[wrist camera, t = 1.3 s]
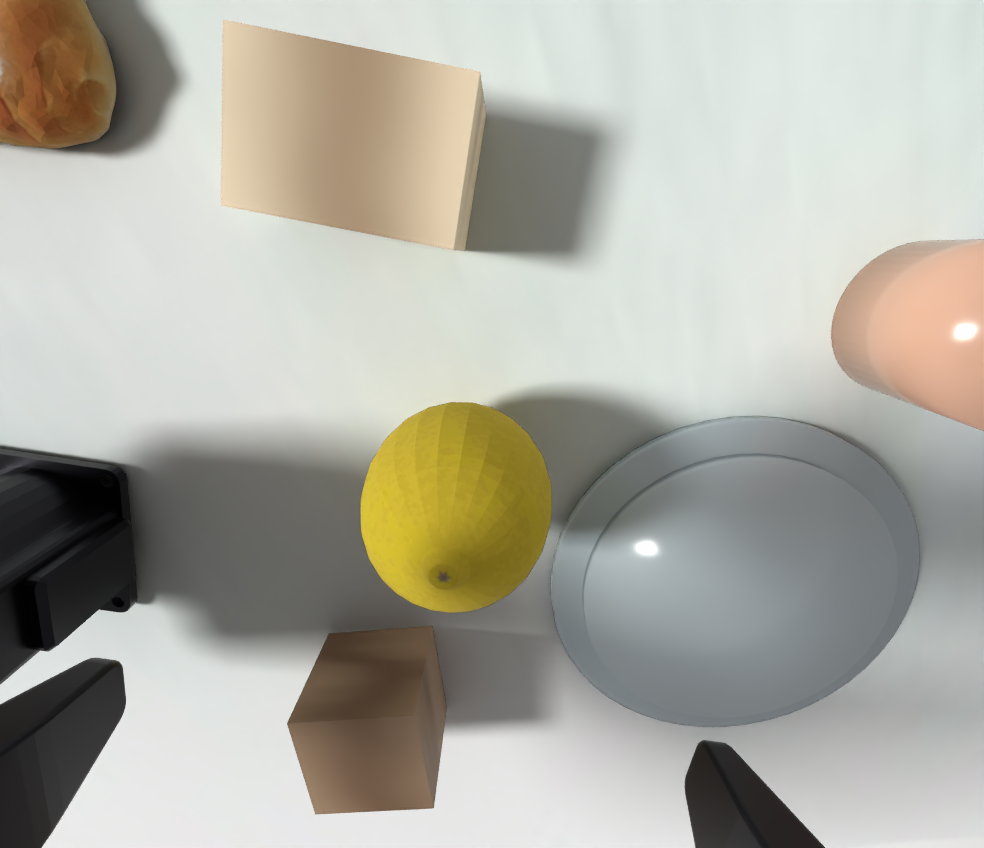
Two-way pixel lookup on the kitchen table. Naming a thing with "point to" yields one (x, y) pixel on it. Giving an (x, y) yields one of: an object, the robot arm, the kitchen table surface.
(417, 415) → the lemon
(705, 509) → the plate
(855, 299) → the pink cylinder
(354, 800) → the walnut block
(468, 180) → the beech block
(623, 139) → the kitchen table surface
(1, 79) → the pastry
